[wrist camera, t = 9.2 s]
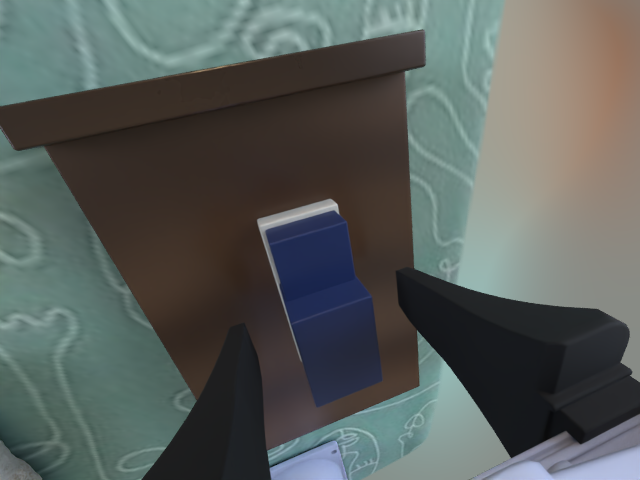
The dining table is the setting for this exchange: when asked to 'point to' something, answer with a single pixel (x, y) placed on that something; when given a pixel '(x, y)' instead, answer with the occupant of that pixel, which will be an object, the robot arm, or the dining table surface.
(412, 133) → the dining table surface
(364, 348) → the trainer
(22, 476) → the washcloth
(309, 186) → the shoe shelf
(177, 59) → the dining table surface
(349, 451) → the dining table surface
